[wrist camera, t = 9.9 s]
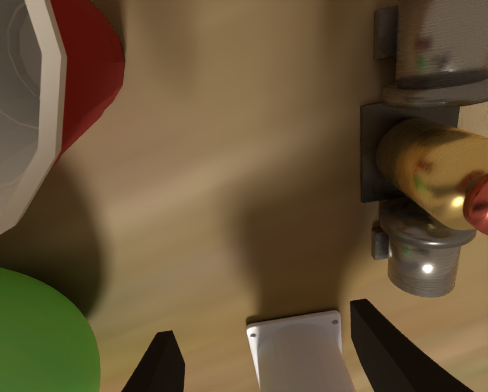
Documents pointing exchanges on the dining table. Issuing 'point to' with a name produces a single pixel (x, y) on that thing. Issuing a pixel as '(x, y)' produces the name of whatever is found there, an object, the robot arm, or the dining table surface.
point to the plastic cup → (49, 89)
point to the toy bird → (43, 339)
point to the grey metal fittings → (429, 107)
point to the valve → (439, 170)
